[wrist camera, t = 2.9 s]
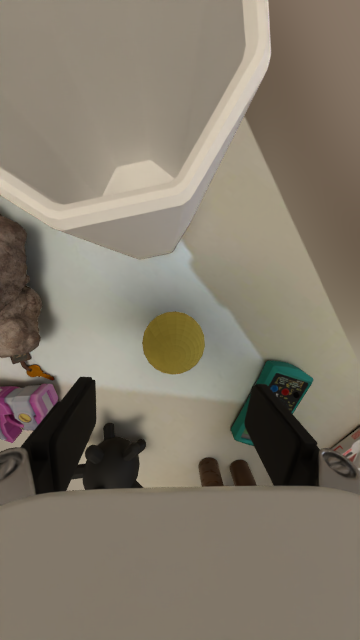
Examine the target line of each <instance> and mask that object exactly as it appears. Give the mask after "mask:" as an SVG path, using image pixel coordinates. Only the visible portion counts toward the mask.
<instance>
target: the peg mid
mask: <svg viewBox="0 0 360 640" xmlns="http://www.w3.org/2000/svg"><path fill="white" fill-rule="evenodd" d="M199 473H200V479H201V485H202V487H213V486H224V485H223V482H222V478H221V474H220V470H219V466H218V463H217V461H216V460H215V459H213V458H205V459H203V460H202V461H201V462H200V463H199Z"/></svg>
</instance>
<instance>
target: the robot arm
mask: <svg viewBox="0 0 360 640" xmlns="http://www.w3.org/2000/svg"><path fill="white" fill-rule="evenodd" d="M95 424H96V390H95V380H92V378H91V377H80V378H79V379H78V380H77V381H76V383H75V384H74V385H73V387H72V388H71V389H70V390H69V392H68V393H67V394H66V396H65V397H64V398H63V399H62V401H59V402H57V403H56V404H55V405H54V406H53V407H52V409H51V410H50V411H49V412H48V414H47V415H46V416H45V417H44V419H43V420H42V421H41V422H40V424H39V425H38V426H37V427H36V429H35V430H34V431H33V432H32V434H31V435H30V436H29V437H28V439H27V440H26V441H25V442H24V443H23V445H22V446H21V447H20V448H17V447H15V448H9V449H6V450H4V451H1V452H0V640H360V471H359V470H358V468H357V467H356V466H355V464H353V463H352V462H351V461H350V460H349V459H348V458H347V457H345V456H344V455H342V454H341V453H339V452H337V451H334V450H332V449H328V448H322V449H321V450H320V449H319V448H318V447H317V442H316V441H315V440H314V439H313V437H312V436H311V435H310V434H309V433H308V432H307V430H306V429H305V428H304V427H303V426H302V425H301V424H300V422H299V421H298V420H297V419H296V418H295V417H294V415H293V414H292V413H291V412H290V411H289V410H288V409H287V407H286V406H285V405H284V404H283V403H282V402H281V400H280V399H279V398H278V397H277V396H276V395H275V394H274V392H273V391H272V390H271V389H270V388H269V387H268V385H266V384H256V385H255V386H253V387H252V391H251V395H250V400H249V404H248V408H247V413H246V417H245V421H244V425H245V428H246V430H247V432H248V434H249V437H250V439H251V441H252V443H253V445H254V447H255V449H256V451H257V453H258V455H259V457H260V459H261V461H262V463H263V465H264V467H265V469H266V471H267V473H268V475H269V477H270V479H271V481H272V483H273V485H274V486H213V487H162V488H123V489H94V490H75V491H74V490H72V491H66V490H67V488H68V485H69V483H70V481H71V479H72V476H73V474H74V472H75V470H76V467H77V465H78V463H79V461H80V458H81V456H82V454H83V452H84V449H85V447H86V445H87V443H88V440H89V438H90V436H91V434H92V431H93V429H94V427H95Z"/></svg>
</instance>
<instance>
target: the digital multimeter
mask: <svg viewBox="0 0 360 640" xmlns="http://www.w3.org/2000/svg"><path fill="white" fill-rule="evenodd" d="M312 382H313V378H312V377H310V376H309V375H308V374H306V373H305V372H303V371H302V370H301V369H299V368H297V367H296V366H294V365H292V364H289V363H286V362H280V361H267V362H266V363H265V366H264V368H263V370H262V372H261V374H260V376H259V378H258V380H257V382H256V384H266V385H268V387H269V388H270V389H271V390H272V391H273V392H274V394H275V395H276V396H277V397H278V398H279V399H280V400H281V402H282V403H283V404H284V405H285V406H286V407H287V409H288V410H289V411H290V412H291V413H292V414H293V412H294V411H295V409H296V408H297V406H298V404H299V403H300V401H301V400H302V398H303V397H304V395H305V393H306V392H307V390H308V389H309V387H310V386H311V384H312ZM256 384H255V385H256ZM250 395H251V394H250ZM249 400H250V396H249V397H248V399H247V401H246V403H245V405H244V407H243V409H242V411H241V412H240V414H239V416H238V418H237V419H236V421H235V423H234V424H233V426H232V428H231V432H232V434H233V437H234V439H235V440H236V441H239V442H242V443H245V444H248V445H252V446H254V445H253V443H252V441H251V439H250V437H249V434H248V432H247V430H246V428H245V425H244V421H245V417H246V413H247V408H248V404H249Z"/></svg>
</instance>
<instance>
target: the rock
mask: <svg viewBox="0 0 360 640" xmlns="http://www.w3.org/2000/svg"><path fill="white" fill-rule="evenodd" d="M26 239H27V233H26V232H25V230H24V229H23V228H22V227H21V226H20V225H19V224H18V223H17V222H14V221H12V220H10V219H8V218H5V217H3V216H2V215H1V214H0V357H1V358H5V357H10V356H12V355H23V354H25V353H29V352H31V351H33V350H34V349H35V348H37V347H38V346H39V342H40V339H41V337H40V335H39V328H38V321H37V320H38V317H39V315H40V313H41V308H42V302H41V299H40V296H39V295H38V294H37V293H36V292H35V291H34V290H33V289H32V288H30V287H28V286H26V284H27V283H28V282H30V276H28V275H27V274H26V272H27V271H26V270H27V265H26V255H25V248H24V246H25V242H26Z"/></svg>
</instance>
